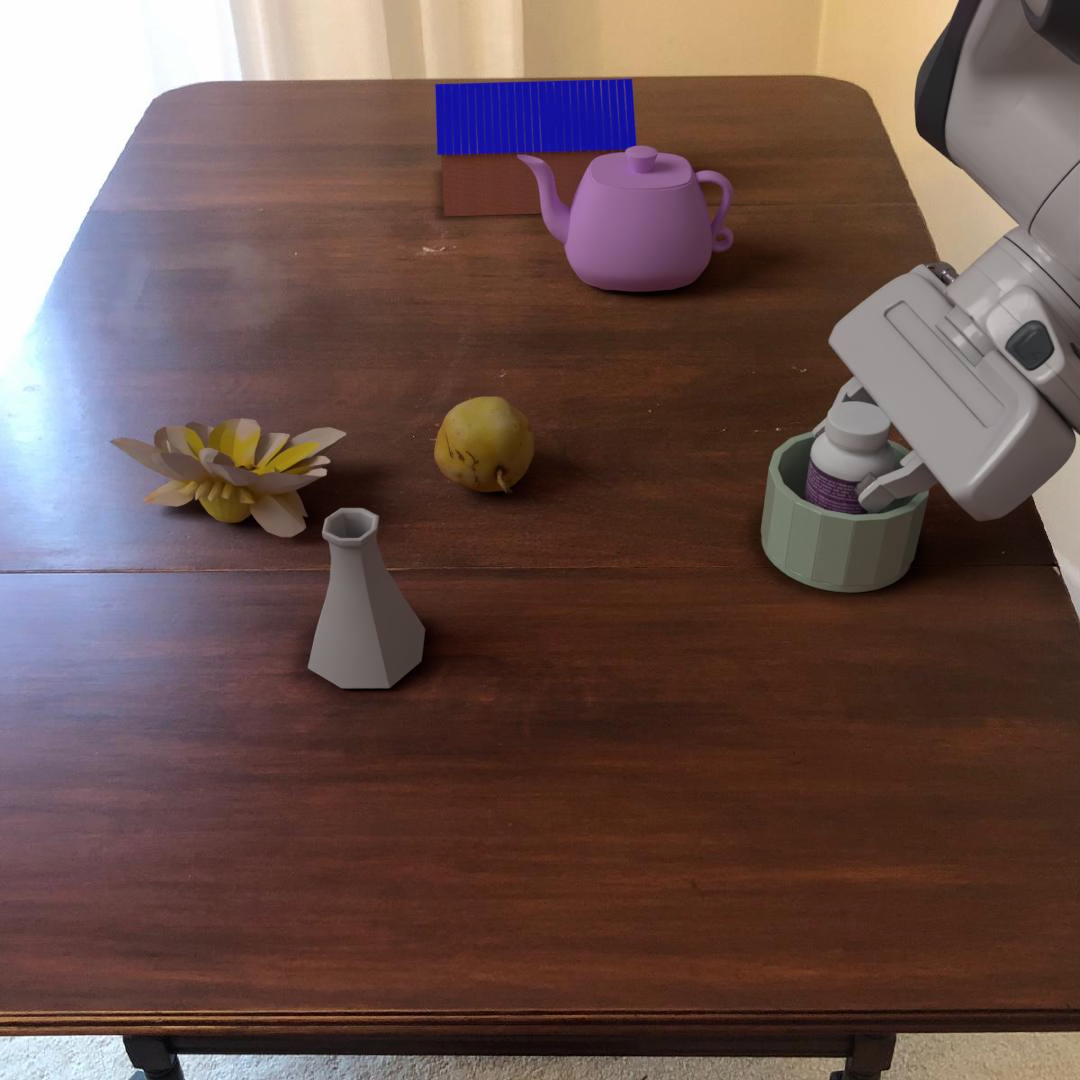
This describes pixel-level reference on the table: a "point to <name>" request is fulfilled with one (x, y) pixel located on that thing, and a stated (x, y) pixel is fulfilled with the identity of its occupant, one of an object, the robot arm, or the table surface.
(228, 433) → the decorative flower
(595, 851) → the table surface
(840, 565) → the crock
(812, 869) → the table surface
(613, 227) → the teapot
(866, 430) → the pill bottle
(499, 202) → the house
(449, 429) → the fruit
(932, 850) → the table surface
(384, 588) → the flask
